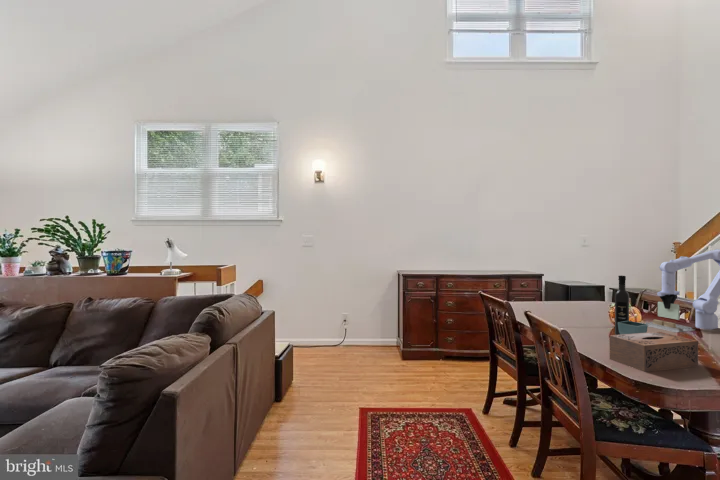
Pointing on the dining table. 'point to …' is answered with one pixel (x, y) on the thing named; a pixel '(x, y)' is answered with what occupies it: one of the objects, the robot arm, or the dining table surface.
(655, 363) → the tissue box cover
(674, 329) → the slot rack
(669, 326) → the oak offcut
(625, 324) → the flower pot
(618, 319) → the wine bottle
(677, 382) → the dining table surface
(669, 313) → the sage panel
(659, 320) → the oak offcut
